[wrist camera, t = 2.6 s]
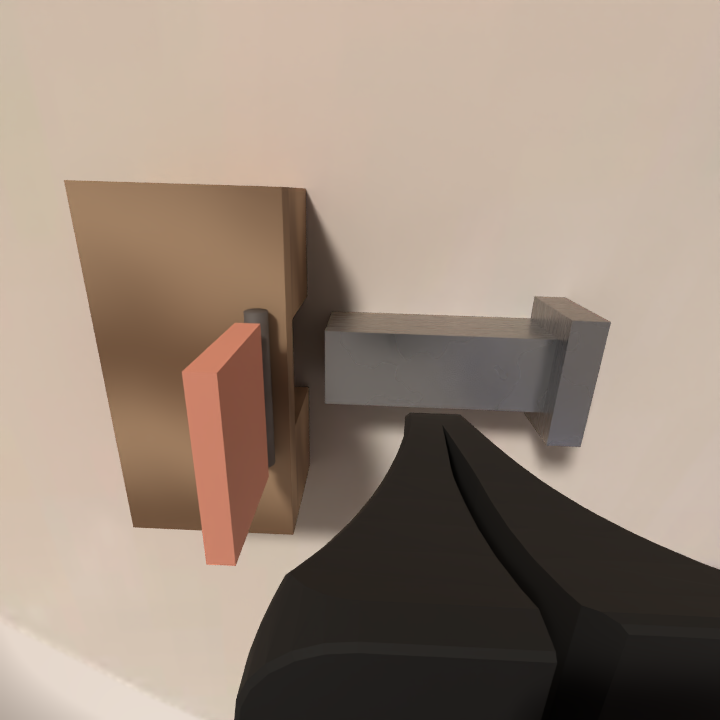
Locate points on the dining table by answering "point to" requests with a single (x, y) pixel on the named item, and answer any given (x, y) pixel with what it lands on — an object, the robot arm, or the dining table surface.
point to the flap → (228, 438)
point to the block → (193, 327)
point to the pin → (472, 363)
